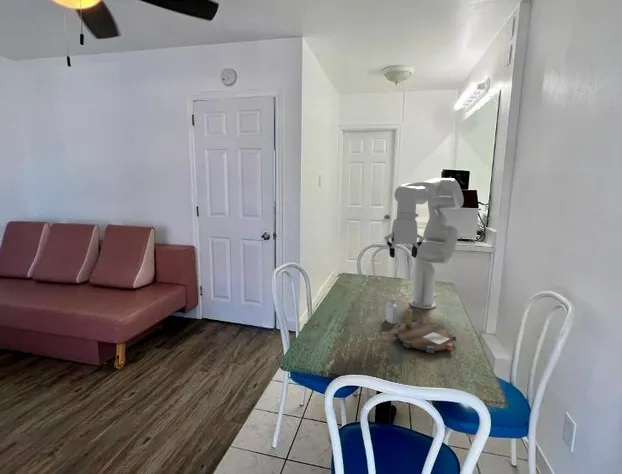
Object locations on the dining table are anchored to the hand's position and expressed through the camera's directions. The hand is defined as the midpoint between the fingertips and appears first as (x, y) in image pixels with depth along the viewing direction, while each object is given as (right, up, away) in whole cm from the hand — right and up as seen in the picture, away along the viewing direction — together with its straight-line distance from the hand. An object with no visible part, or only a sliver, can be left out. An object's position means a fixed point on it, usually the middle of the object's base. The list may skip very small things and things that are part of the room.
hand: (403, 257), depth 148 cm
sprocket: (+5, -30, -13) cm, 33 cm away
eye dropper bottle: (-4, -29, +6) cm, 30 cm away
